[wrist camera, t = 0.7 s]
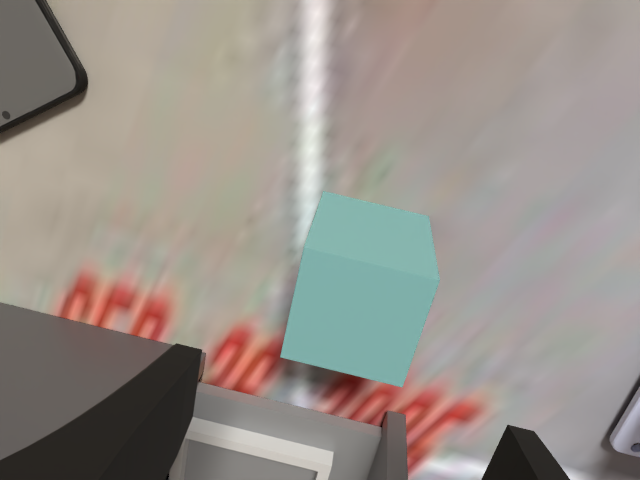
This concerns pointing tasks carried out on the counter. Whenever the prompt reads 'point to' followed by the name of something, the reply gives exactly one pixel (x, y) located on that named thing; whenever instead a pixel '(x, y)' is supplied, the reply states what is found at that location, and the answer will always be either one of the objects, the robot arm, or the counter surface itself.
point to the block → (362, 290)
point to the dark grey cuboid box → (60, 371)
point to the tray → (284, 442)
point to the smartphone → (34, 62)
